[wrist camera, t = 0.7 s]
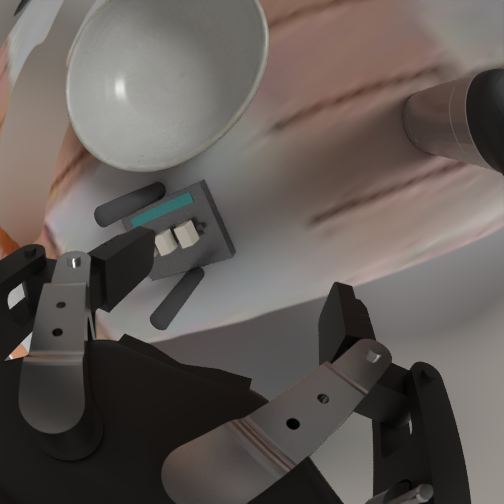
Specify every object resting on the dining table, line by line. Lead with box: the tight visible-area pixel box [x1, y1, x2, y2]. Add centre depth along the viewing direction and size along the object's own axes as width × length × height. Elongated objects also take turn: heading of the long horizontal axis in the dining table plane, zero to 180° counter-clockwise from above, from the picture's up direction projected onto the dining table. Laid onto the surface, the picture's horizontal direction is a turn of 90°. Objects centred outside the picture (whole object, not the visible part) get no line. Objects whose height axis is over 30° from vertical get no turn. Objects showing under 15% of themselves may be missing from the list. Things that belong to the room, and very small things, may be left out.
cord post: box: [150, 267, 204, 330], centre depth 40 cm, size 3×3×14 cm
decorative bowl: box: [65, 0, 269, 173], centre depth 28 cm, size 27×27×12 cm
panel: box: [122, 180, 236, 281], centre depth 42 cm, size 16×12×3 cm
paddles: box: [154, 220, 200, 257], centre depth 40 cm, size 10×3×2 cm, turn 112°
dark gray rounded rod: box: [94, 182, 166, 227], centre depth 35 cm, size 3×3×14 cm
